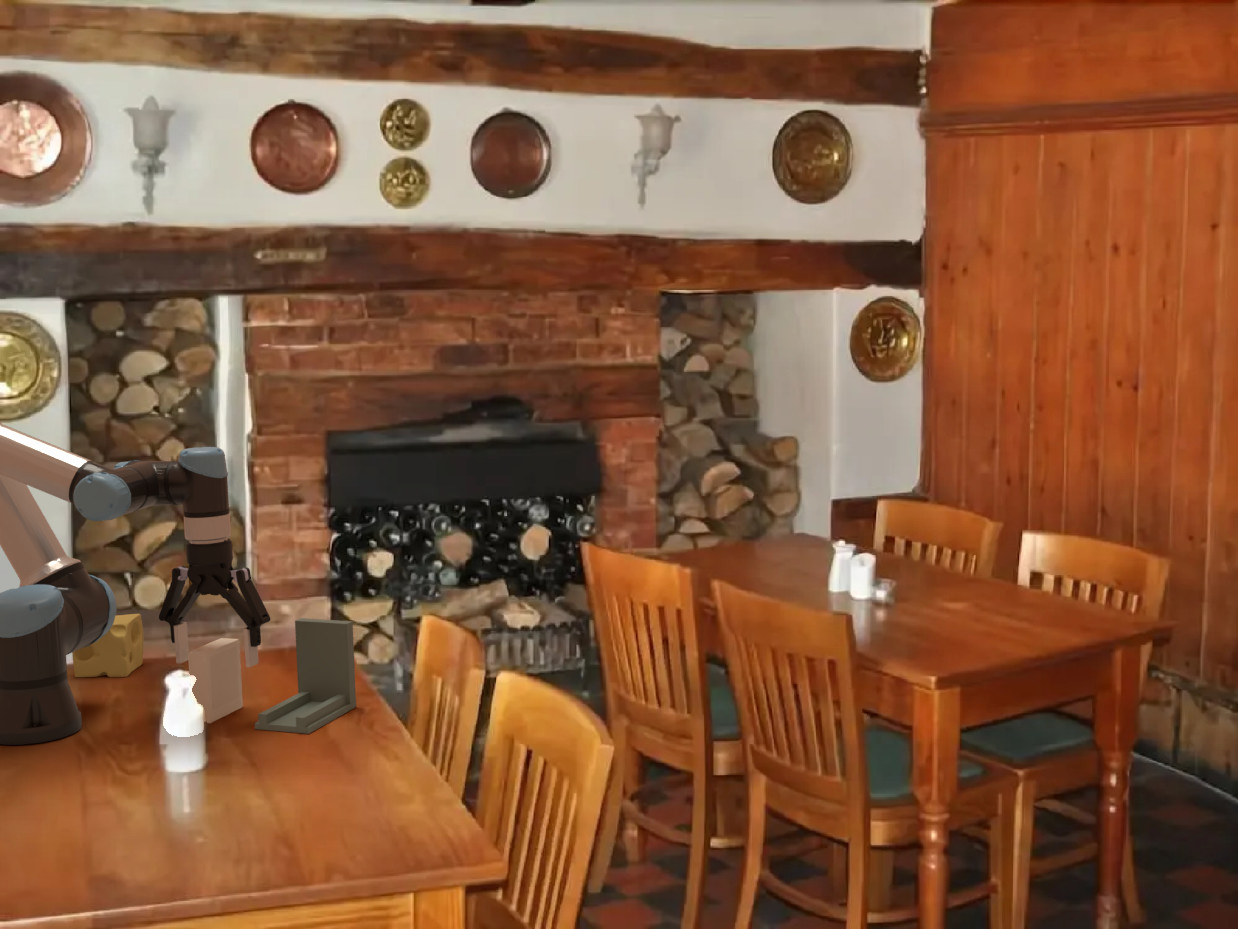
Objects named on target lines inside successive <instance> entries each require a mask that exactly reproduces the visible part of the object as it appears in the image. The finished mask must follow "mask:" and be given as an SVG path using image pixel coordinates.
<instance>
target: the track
mask: <svg viewBox="0 0 1238 929" xmlns="http://www.w3.org/2000/svg"><path fill="white" fill-rule="evenodd" d="M353 623H354V621H351V620H337V619H335V620H334V619H318V618H305V617H304V618H303V617H300V618H298V619H296V620H294V625H295V626H294V630H295V648H296V649H295V650H296V673H297V693H296V694H294V695H292V696H290V697H289V698H286V699H285V700H283V701H281V702H278V703H277V704H275V705H273V706H271V707H269V708H267V709H266V710H263V711H261V712H260V713H258V714H257V715H258V717H257V718H258V720H257V721H256V722H254V730H261V731H271V732H273V731H274V732H282V733H283V732H286V733H294V734H295V733H296V734H305V735H306V734H308V735H309V734H311V733H312V732H314V731H316V730H318V729H320V728H323V727H324V726H325V725H327V724H329V723H330V722H332V721H334V720H336V719H338V718H340V717H341V716H343V715H345V714H347V713H348V712H350V711H352V710H353V709H355V708H357V697H356V695H357V694H356V693H357V692H356V673H355V671H356V669H355V668H356V667H355V648H354V646H355V645H354V626H353Z"/></svg>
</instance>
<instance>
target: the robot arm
mask: <svg viewBox="0 0 1238 929" xmlns="http://www.w3.org/2000/svg"><path fill="white" fill-rule="evenodd" d="M178 455H179V456H178V460H138V459H134V460H128V461H120V462H118V463H116V464H115V465H114V466H113V468H110V467H108V466H105V465H103V464H101V463H98V462H95V461H93V460H91V459H88V458H86V457H84V456H81V455H79V454H76V453H74V452H71V451H69V450H66V449H64V448H61V447H59V446H57V445H54V444H51V443H50V442H47V441H44V440H42V439H40V438H37V437H35V436H33V435H30V434H27V433H25V432H22V431H20V430H17V429H15V428H12V427H10V426H8V425H7V424H3V423H2V421H1V420H0V548H1V549H2V551H3V552H4V555H5V556H6V558H7V560H8V561H9V563H10V565H11V567H12V568H13V570H14V572H15V574H16V575H17V577H18V578H19V582H20V583H19V586H18V587H17V588H9V589H6V590H4V591H2V592H0V745H12V746H13V745H14V746H15V745H16V746H17V745H19V746H20V745H32V744H38V743H46V742H50V741H55V740H59V739H63V738H66V737H68V736H71V735H74V734H75V733H77V732H79V731H80V730H81V729H82V727H83V726H82V725H83V720H82V712H81V710H80V708H79V707H78V706H77V705H78V704H77V703H76V700H75V699H76V698H75V697H74V695H73V691H72V689H71V687H70V684H69V680H68V666H67V662H68V661H67V656H68V655H70V654H72V652H74V651H76V650H78V649H81V648H83V647H87V646H90V645H91V644H93V643H95V642H96V641H97V640H99V639H100V638H102V637H103V636H104V635H105V634H106V633H107V632H108V631H109V630H110V628H111V627H112V625H113V623H114V620H115V616H116V615H117V600H116V596H115V594H114V592H113V590H112V588H111V587H110V585H109V584H108V583H107V582H106V581H105V580H103V579H102V578H100V577H96V576H95V575H92V574H89V572H88V570H87V569H86V567H85V566H84V564H83V563H82V561H81V560H80V559H77V558H73V557H70V556H68V555H67V553H66V552H65V549H64V548H63V547H62V544H61V543H60V541H59V539H58V538H57V536H56V534H55V533H54V530H53V529H52V527H51V526H50V524H49V522H48V521H47V518H46V516H45V515H44V513H43V512H42V510H41V508H40V506H39V504H38V502H37V500H36V499H35V497H34V496H33V494H32V492H31V490H30V489H29V487H31V488H33V489H35V490H39V491H40V492H44V493H46V494H48V495H51V496H52V497H56V498H58V499H60V500H63V501H65V502H68V503H71V504H73V505H74V506H75V509H76V511H78V512H79V513H80V515H81V516H82V517H84V518H85V519H87V520H89V521H91V522H92V521H93V522H102V521H112V520H114V519H117V518H119V517H122V516H125V515H127V514H130V513H133V512H136V511H140V510H143V509H146V508H150V507H153V506H182V513H183V528H184V529H183V530H184V538H185V540H187V541H186V542H187V543H186V544H185V554H186V555H185V556H186V562H187V564H188V568H187V567H186V566H185V565H180V566H177V567H174V568H173V569H171V582H170V585H169V587H168V590H167V593H166V596H165V598H164V601H163V604H162V607H161V610H160V613H159V614H158V619H159V620H160V621H161V622H166V623H168V625H169V631H170V641H171V643H172V644H174V647H175V648H174V649H175V650H174V651H175V662H176V663H175V664H183V663H185V662H188V652H189V651H190V648H189V638H188V637H189V635H188V633H189V632H188V624H187V623H188V622H185V617H186V615H187V614H188V613H189V611H190V610H191V608H192V607H193V605H194V604H195V603H196V601H197V600H198V598H199V597H200V596H207V595H210V596H217V597H218V596H219V595H220V597H222V598H223V599H225V600H226V601H227V603H228V604H229V605H230V606H231V608H232V609H233V610H234V611H235V613H236V614H237V615H238V616H239V618H240V619H241V621H242V622H243V623H244V624H245V625H246V626H247V627H245V628H243V630H242V631H243V643H244V653H245V654H244V656H245V658H244V659H245V667H246V668H251V667H252V668H253V666H256V665H258V664H259V652H258V651H259V649H258V648H259V647H258V646H260V645H261V643H262V637H261V627H262V625H264V624H267V623H269V622H270V621H271V616H270V614H269V613H268V610H267V608H266V606H265V605H264V602H263V600H262V598H261V596H260V594H259V593H258V589H257V588H256V586H255V584H254V582H253V580H252V575H251V569H250V568H249V567H244V568H240V569H236V570H235V569H234V567H233V560H234V559H233V558H234V552H233V541H232V540H231V539H230V538H229V537H231V535H232V526H231V513H230V500H229V483H228V477H229V472H228V469H227V460H226V454H225V452H224V450H223V449H222V448H220V447H216V446H201V447H197V446H196V447H189V448H184V449H181V450H180V451H179V454H178ZM28 486H29V487H28ZM188 579H189V581H190V582H191V584H190V585H189V587H188V589H187V590H186V591H185V595H184V597H183V598H182V599H181V601H180V602H179V600H180V598H181V595H182V592H183V589H184V587H185V584H186V581H187V580H188ZM233 580H234V581H233ZM234 582H236V583H237V586H236V584H235V583H234ZM239 590H240V592H241V593H240V592H239ZM178 603H179V604H178Z"/></svg>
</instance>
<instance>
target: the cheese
mask: <svg viewBox="0 0 1238 929" xmlns="http://www.w3.org/2000/svg"><path fill="white" fill-rule="evenodd" d="M143 627H144V626H143V620H142V615H141V613H129V614H119V615H118V614H116V616H115V620H114V623H113V625H112V627H111V628H110V630H109V631H108V632H107V633H106V634H105V635H104V636H103V637H102V638H100V639H99V640H97V641H96V642H95V643H93V644H91V645H90V646H87V647H83V648H81V649H78V650H76V651H74V652H72V653H71V654H72V665H73V671H74V672H73V673H74V677H75V678H95V677H101V676H107V677H108V678H109V677H110V678H127V677H128V676H130V674H131V673H132V672H133V671H135V670H136V669H138V668H139V667H141V665H143V659H144V628H143Z"/></svg>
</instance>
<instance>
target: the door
mask: <svg viewBox="0 0 1238 929" xmlns="http://www.w3.org/2000/svg"><path fill="white" fill-rule="evenodd" d="M240 645H241V644H240V638H226V637H220V638H218V639H216V640H214V641H211V642H209V643H206V644H203V645H202V646H201V645H200V646H199V647H196V648H194V649H191V650H189V652H188V660H187V662H188V675H189V674H190V675H194V676H195V677H196V679H197V680H196V682H195V684H194V686H193V688H192V692H193V694H194V696H195V698H196V699H197V702H199V703H200V704H201V705H203V707H204V710H205V716H206V720H207V723H206V724H212V723H214V722H216V721H218V720H219V719H222V718H223V717H226V716H228V715H230V714H231V713H233V712H235V711H237V710H240V709H242V708H243V707H244V702H243V686H242V682H243V681H242V667H241V666H242V665H241V663H242V662H241V646H240Z"/></svg>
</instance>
